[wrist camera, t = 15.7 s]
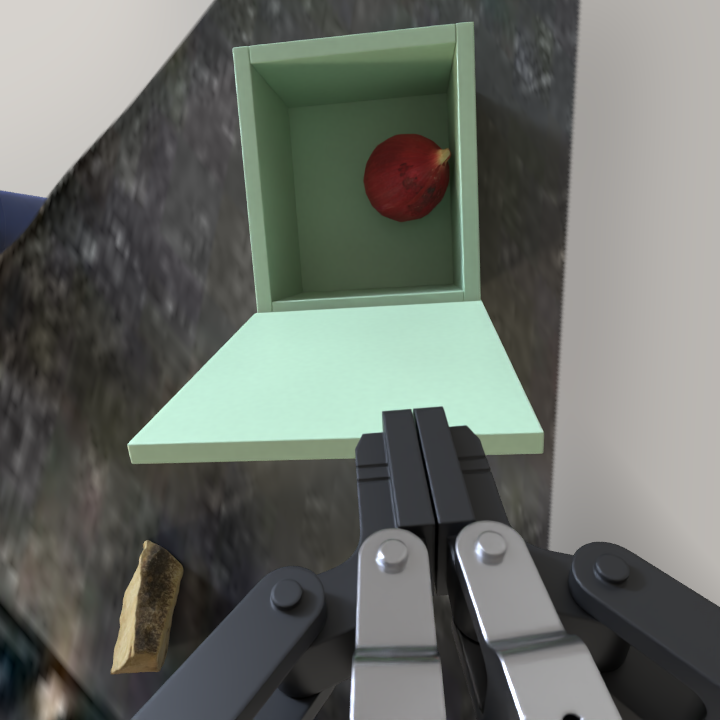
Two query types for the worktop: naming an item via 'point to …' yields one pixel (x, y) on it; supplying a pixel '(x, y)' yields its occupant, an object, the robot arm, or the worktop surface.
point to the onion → (406, 176)
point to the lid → (342, 386)
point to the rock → (147, 612)
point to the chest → (357, 168)
